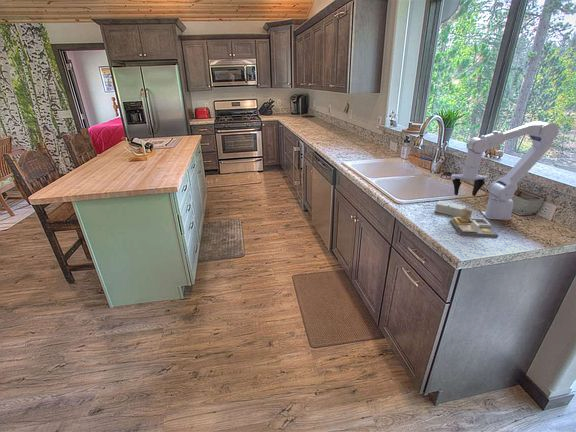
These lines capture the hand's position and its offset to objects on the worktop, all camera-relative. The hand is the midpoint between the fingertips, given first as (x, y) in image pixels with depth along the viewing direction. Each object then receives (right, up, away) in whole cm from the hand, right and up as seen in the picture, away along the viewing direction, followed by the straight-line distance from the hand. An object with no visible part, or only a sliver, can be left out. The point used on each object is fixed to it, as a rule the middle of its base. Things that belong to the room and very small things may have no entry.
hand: (464, 194), depth 139 cm
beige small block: (-4, -13, -6) cm, 15 cm away
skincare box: (-8, -5, +10) cm, 14 cm away
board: (-2, -15, -9) cm, 18 cm away
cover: (-6, -15, -12) cm, 20 cm away
